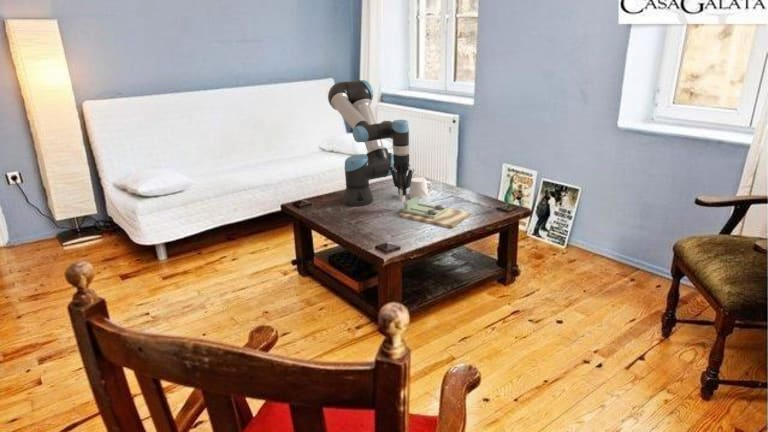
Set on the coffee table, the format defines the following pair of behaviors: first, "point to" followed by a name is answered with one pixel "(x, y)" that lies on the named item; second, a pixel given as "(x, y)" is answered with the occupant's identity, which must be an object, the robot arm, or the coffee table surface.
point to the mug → (419, 188)
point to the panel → (421, 208)
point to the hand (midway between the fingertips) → (402, 201)
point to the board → (440, 217)
